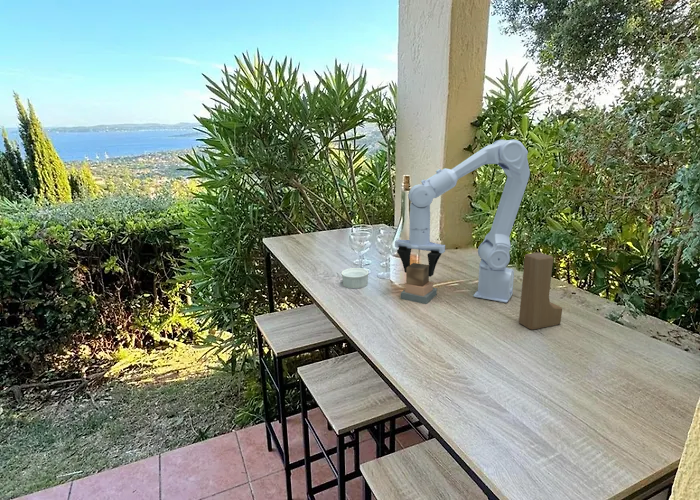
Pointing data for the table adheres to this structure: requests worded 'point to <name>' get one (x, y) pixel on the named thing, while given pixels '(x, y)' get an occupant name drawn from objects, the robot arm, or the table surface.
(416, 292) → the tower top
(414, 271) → the walnut cube
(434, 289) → the tower base
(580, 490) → the table surface
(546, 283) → the wooden block
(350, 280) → the ramekin
